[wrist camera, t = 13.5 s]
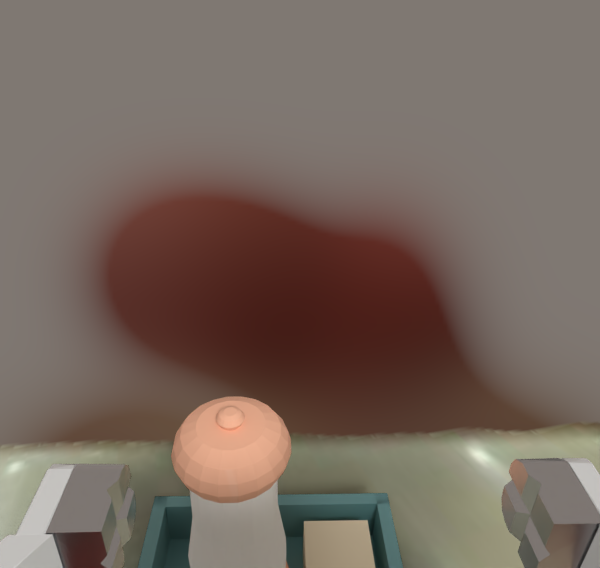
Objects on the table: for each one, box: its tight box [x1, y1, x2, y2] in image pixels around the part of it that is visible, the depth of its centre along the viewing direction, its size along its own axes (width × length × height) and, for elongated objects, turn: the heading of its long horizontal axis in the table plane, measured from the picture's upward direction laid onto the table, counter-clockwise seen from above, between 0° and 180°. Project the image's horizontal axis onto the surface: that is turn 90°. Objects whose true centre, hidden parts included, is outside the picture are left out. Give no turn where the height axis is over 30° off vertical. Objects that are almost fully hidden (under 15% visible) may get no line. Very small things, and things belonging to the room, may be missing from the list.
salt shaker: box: [171, 397, 291, 568], centre depth 35 cm, size 7×7×19 cm
